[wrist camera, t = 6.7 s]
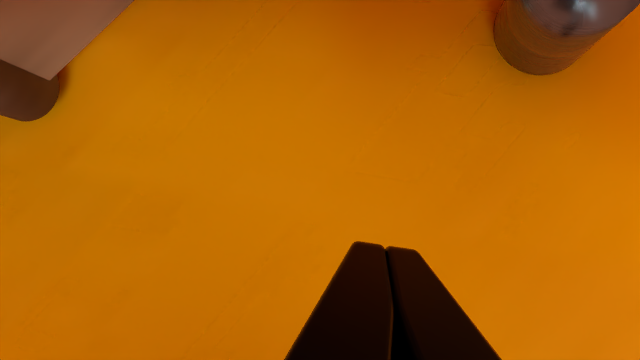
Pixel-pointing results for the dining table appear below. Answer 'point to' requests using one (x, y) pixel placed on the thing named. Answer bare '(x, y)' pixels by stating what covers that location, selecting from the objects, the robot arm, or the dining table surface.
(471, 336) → the robot arm
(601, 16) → the brown gate
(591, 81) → the dining table surface
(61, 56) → the gate leaf
